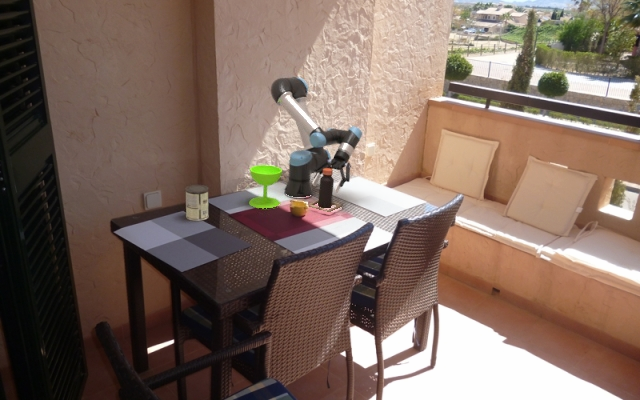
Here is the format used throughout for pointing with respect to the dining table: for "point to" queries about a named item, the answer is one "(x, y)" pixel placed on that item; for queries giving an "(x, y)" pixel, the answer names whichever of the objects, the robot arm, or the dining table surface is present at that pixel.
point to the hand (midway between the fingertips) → (324, 188)
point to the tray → (323, 208)
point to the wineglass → (265, 184)
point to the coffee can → (197, 202)
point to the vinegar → (326, 189)
